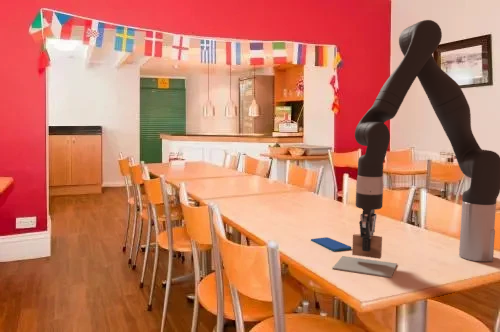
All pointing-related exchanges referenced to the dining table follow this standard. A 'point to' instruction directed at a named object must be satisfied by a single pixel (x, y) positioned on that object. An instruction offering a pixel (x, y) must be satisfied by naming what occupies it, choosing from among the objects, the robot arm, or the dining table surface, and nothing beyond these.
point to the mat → (365, 266)
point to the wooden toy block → (374, 246)
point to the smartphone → (331, 244)
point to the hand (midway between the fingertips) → (367, 249)
